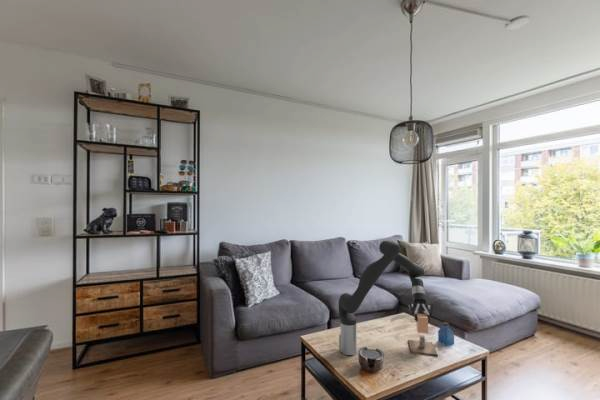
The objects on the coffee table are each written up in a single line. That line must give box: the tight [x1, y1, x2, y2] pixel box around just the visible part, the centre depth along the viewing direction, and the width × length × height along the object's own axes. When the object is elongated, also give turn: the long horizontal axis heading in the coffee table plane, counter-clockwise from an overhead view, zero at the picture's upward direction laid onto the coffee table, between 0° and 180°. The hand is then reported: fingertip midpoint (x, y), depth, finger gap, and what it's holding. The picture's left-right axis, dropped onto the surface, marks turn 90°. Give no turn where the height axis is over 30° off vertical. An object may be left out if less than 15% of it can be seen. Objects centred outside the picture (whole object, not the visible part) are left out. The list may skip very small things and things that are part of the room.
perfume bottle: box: [437, 321, 455, 346], centre depth 173 cm, size 6×6×12 cm
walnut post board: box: [407, 335, 439, 357], centre depth 166 cm, size 14×14×7 cm
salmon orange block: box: [415, 313, 429, 334], centre depth 166 cm, size 6×6×9 cm
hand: (422, 321), depth 165 cm, fingers closed on salmon orange block, 5 cm apart
